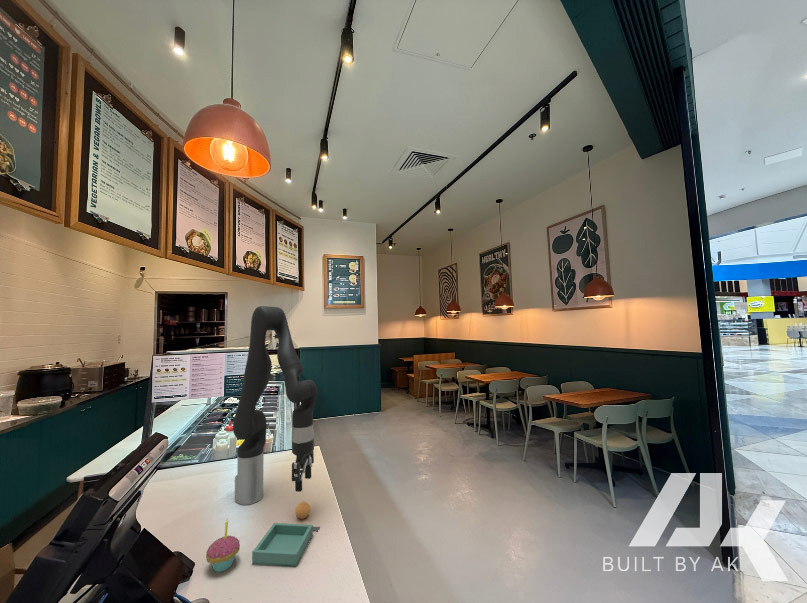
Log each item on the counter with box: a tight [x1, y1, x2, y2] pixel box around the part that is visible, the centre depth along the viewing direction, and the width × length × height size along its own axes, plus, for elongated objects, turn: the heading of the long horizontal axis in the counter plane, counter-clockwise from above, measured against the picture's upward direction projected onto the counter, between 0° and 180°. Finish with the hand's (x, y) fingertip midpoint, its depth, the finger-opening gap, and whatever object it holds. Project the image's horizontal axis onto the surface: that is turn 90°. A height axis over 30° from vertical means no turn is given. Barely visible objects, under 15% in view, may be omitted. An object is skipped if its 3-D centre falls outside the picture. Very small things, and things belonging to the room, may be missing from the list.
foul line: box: [313, 526, 321, 533], centre depth 109 cm, size 15×2×1 cm, turn 85°
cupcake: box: [205, 518, 241, 573], centre depth 94 cm, size 9×8×12 cm
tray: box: [251, 522, 314, 568], centre depth 100 cm, size 13×13×4 cm
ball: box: [294, 501, 311, 520], centre depth 115 cm, size 5×5×5 cm
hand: (303, 484), depth 116 cm, fingers open, 8 cm apart
